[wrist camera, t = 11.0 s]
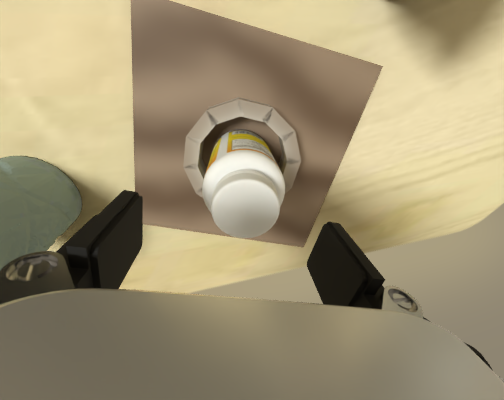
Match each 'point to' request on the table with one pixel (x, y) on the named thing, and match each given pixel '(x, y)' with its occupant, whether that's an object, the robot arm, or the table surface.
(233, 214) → the supplement bottle
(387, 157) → the table surface
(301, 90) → the collar board
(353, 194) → the table surface
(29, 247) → the blue-grey plant pot
